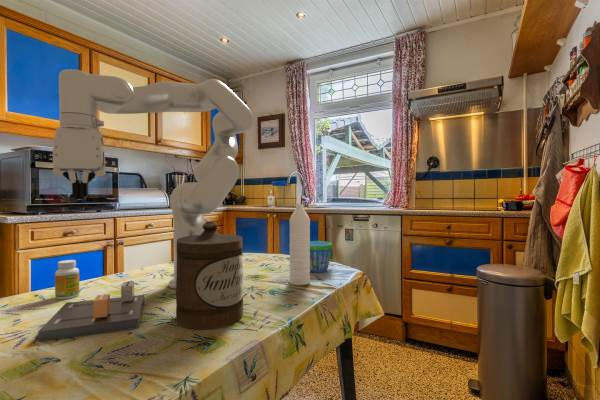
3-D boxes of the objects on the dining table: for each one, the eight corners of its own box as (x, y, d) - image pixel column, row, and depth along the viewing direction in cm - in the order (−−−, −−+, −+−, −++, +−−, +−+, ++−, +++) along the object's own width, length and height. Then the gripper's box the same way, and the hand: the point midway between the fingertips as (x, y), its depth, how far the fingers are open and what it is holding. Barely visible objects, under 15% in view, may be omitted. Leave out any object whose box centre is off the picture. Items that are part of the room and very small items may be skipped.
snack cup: (309, 277, 108) (309, 247, 108) (291, 271, 117) (291, 243, 116) (342, 270, 117) (342, 242, 117) (323, 265, 126) (323, 239, 126)
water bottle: (285, 284, 100) (285, 204, 99) (294, 279, 106) (294, 203, 105) (311, 287, 96) (312, 204, 96) (319, 282, 102) (319, 203, 101)
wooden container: (210, 335, 64) (210, 226, 63) (161, 321, 71) (160, 222, 71) (256, 311, 77) (255, 220, 76) (210, 301, 84) (210, 217, 84)
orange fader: (110, 310, 71) (109, 293, 71) (106, 316, 67) (106, 298, 67) (97, 311, 70) (97, 294, 70) (93, 318, 67) (93, 300, 66)
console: (144, 302, 83) (144, 294, 83) (138, 327, 67) (137, 318, 67) (66, 311, 77) (65, 302, 77) (38, 341, 61) (38, 331, 61)
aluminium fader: (134, 295, 81) (134, 280, 81) (132, 300, 78) (132, 284, 78) (123, 296, 81) (123, 281, 80) (121, 301, 77) (120, 285, 77)
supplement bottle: (66, 300, 85) (66, 263, 84) (50, 299, 86) (49, 263, 86) (84, 294, 90) (83, 259, 90) (68, 292, 91) (67, 258, 91)
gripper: (116, 129, 84) (117, 198, 85) (46, 124, 78) (48, 199, 79) (111, 123, 77) (113, 199, 78) (34, 118, 72) (37, 200, 72)
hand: (80, 199), depth 78 cm, fingers closed
